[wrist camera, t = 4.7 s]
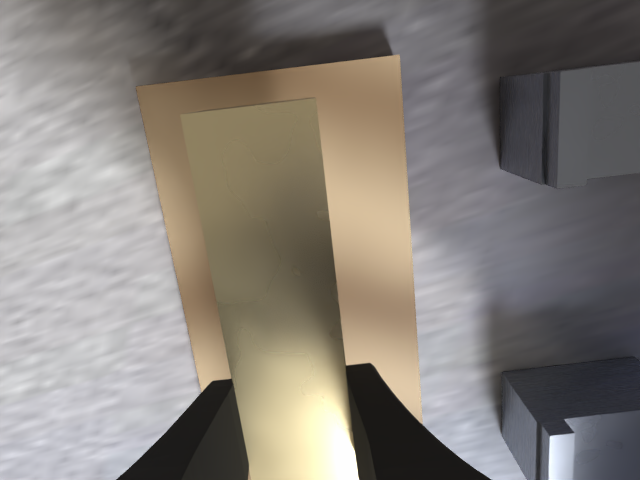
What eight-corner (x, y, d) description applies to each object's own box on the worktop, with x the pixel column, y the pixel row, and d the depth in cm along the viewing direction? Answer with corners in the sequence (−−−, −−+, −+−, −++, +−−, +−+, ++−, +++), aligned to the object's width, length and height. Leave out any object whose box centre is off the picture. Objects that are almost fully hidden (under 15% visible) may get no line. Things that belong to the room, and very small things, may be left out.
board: (420, 464, 20) (426, 483, 19) (230, 486, 20) (226, 505, 19) (393, 57, 15) (399, 54, 14) (145, 87, 15) (135, 86, 14)
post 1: (652, 151, 16) (746, 166, 13) (500, 169, 16) (553, 189, 13) (660, 58, 16) (764, 47, 12) (500, 77, 16) (556, 72, 12)
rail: (364, 540, 16) (375, 624, 13) (285, 549, 16) (281, 635, 13) (313, 96, 12) (315, 98, 9) (206, 109, 12) (179, 114, 9)
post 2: (629, 421, 20) (699, 493, 16) (501, 435, 20) (544, 510, 16) (634, 357, 19) (710, 417, 15) (501, 371, 19) (546, 436, 15)
